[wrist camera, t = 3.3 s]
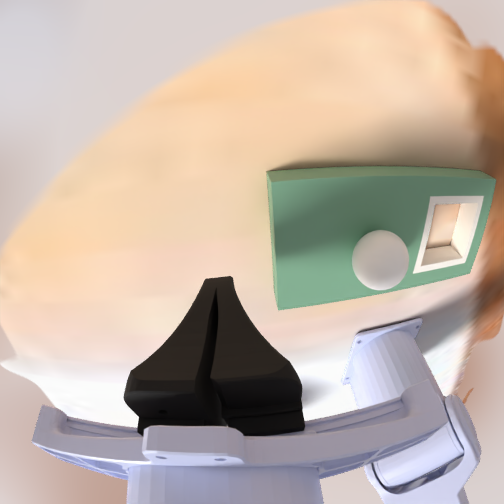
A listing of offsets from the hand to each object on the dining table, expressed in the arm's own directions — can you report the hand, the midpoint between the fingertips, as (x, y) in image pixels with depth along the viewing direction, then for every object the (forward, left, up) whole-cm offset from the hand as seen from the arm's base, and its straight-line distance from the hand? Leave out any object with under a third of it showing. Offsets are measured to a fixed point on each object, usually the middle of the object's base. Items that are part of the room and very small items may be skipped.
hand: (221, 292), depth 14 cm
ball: (0, -9, -1) cm, 9 cm away
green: (0, -12, -5) cm, 13 cm away
